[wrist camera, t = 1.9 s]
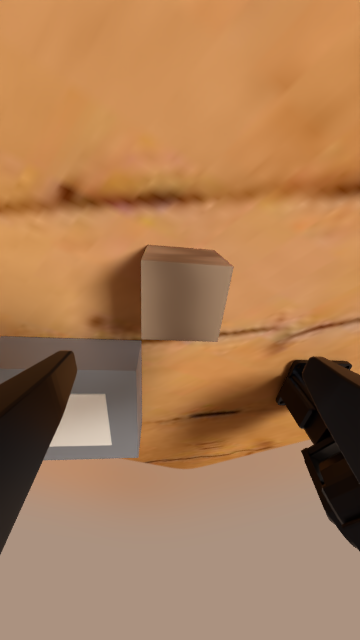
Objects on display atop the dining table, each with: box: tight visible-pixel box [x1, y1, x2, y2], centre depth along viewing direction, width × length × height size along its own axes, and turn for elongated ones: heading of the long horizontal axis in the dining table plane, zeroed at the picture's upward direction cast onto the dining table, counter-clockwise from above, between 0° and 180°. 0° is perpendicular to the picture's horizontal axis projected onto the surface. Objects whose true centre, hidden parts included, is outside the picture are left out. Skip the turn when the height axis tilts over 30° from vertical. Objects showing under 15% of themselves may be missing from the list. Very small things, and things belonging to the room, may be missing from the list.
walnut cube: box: [141, 245, 233, 342], centre depth 14 cm, size 5×5×5 cm
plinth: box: [0, 336, 142, 460], centre depth 19 cm, size 12×12×4 cm
